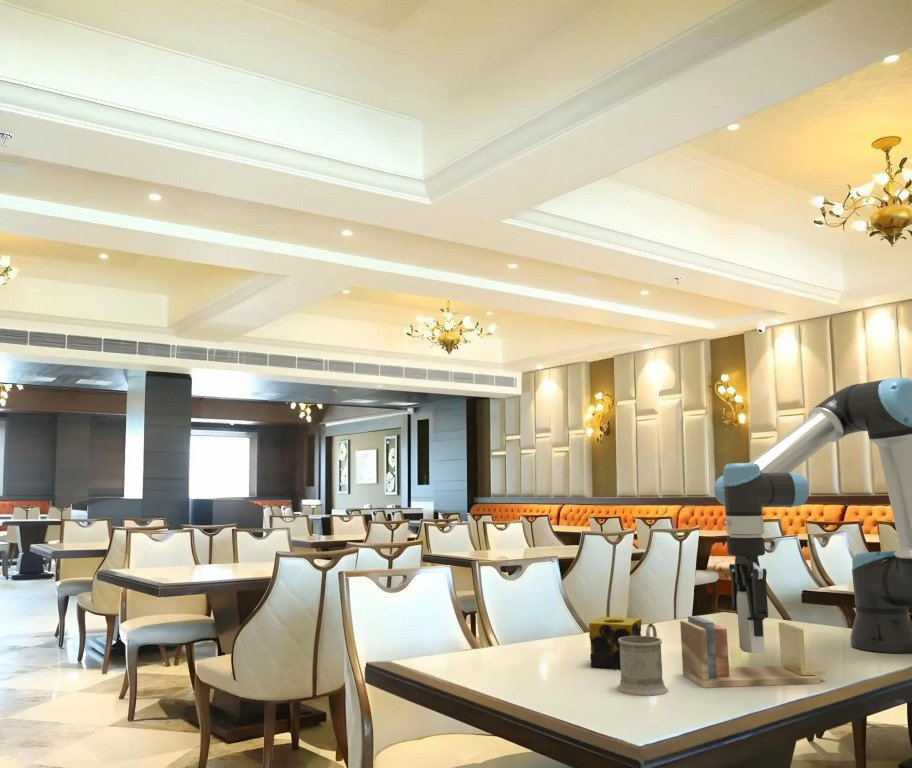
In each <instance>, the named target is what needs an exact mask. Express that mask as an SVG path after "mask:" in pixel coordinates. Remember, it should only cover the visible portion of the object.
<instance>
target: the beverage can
mask: <svg viewBox="0 0 912 768" xmlns="http://www.w3.org/2000/svg"><path fill="white" fill-rule="evenodd" d="M737 593H738V594H737V611H738V615H737V622H738V623H737V626H739V628H738V641H739V640H740V645H739V649H740V650H741V651H742V652H744V653H751V651H750V635H749V620H748V619H747V618H748V617H750V610H749V604H748V597H747V592H741V591H737ZM751 654H752V653H751Z"/></svg>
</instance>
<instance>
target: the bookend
mask: <svg viewBox="0 0 912 768" xmlns="http://www.w3.org/2000/svg"><path fill="white" fill-rule="evenodd" d="M778 634H779V635H778V636H779V637H778V638H779V649H780V650H779V651H780V662H781V663H780V666H782V667H784V668H787V669H789V670H791V671H793V672H795V673H798V674H800V675H815V676H819V675H820V676H823V675H826V670H822V669H820V668H818V667H816V666H813V665H811V664H809V663H807V662H806V649H805V639H804V638H805V637H804V635H805V634H804V628H800V627H797V626H796V625H795V626H794V625H791V624H788V623H785V622H778Z"/></svg>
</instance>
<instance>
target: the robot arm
mask: <svg viewBox="0 0 912 768" xmlns="http://www.w3.org/2000/svg"><path fill="white" fill-rule="evenodd" d="M860 432H867V436H868V439H869V442H872V443H873V444H875V445H876V447H877V448H878V453H879V457H880V458H879V459H880V461H881V466H882V471H883V476H884V480H885V485H886V490H887V495H888V499H889V503H890V504H889V505H890V507H891V512H892V513H891V514H892V517H893V521H894V526H895V531H896V535H897V540H898V544H899V545H898V548H897V549H896V550H885V551H871V552H862V553H856V554H854V555H853V557H852V560H851V563H852V568H851V573H852V574H851V575H852V583H853V594H854V604H855V618H854V622H853V624H852V629H851V633H850V646H851V647H853V648H854V649H859V650H863V651H868V652H877V653H889V654H891V653H892V654H895V653H896V654H898V653H899V654H903V653H905V654H906V653H907V654H908V653H912V620H911V618H910V612H909V611H910V609H909V608H912V379H911V378H908V377H889V378H885V379H881V380H874V381H867V382H863V383H856V384H851V385H848V386H845V387H843V388H841V389H840V390H838V391H836V392H835V393H833V394H832V395H830V396H829V397H827V398H825V399H824V400H822V401H821V402H819V403H818V404H817V405H816V406H815V407H813V408H812V409H810V411H809V413H808V415H807V418H805V420H803V421H802V422H800V423H799V424H798V425H797V426H795V427H794V428H793V429H791V431H788V433H786V434H785V435H784V436H782V437H781V438H779V439H778V440H777V441H776V442H774V443H773V444H772V445H771V446H769V447H768V448H767V449H765V450H764V451H763V452H761V453H760V454H759V455H757V456H756V457H755V458H754V459H752V460H751V461H750V462H741V463H740V462H739V463H738V462H737V463H727V464H726V465H724V466H723V472H722V473H723V474H722V475H721V476H719V477H718V478H717V479H716V480H715V483H714V485H713V486H714V488H713V493H714V495H715V498H716V500H717V501H718V503H720V504H721V505H723V506H724V509H725V510H724V512H725V520H724V521H723V523H724V524H723V525H725V529H726V534H727V535H729V537H727V538H726V548H727V549H726V550H727V552H726V553H727V554H728V555H730V556H734V557H735V558H734V563H730V564H729V565H728V567H729V573H730V588H731V603H732V611H734V612H735V613H736V616H738V611H737V594H738V593H737V591H741V592H747V597H748V604H749V610H750V617H748V618H747V619H748V620H749V635H750V651H751V654H763V653H766V650H765V649H766V647H765V631H764V621H765V619H768V618H769V608H768V607H769V606H768V605H769V604H768V595H767V594H768V592H767V574H768V573H767V571H768V570H767V569H766V568H761V567H760V565H761V564H760V561H759V557H760V556H761V557H762V556H764V555H765V554H766V549H765V547H766V546H765V544H766V542H765V539H764V537H762V535H764V534H765V526H764V514H763V510H764V509H763V508H795V507H800V506H801V507H802V505H804V504H805V503H806V502H807V501H808V498H809V496H810V495H809V494H810V492H809V491H810V490H809V484H808V481H807V479H806V478H805V477H804V476H803V475H802V474H800V473H798V472H792V471H794V470H795V469H796V468H798V467H799V466H801V465H802V464H803V463H804V462H806V461H807V460H808V459H809V458H811V457H813V456H814V454H816V453H817V452H819V450H821V449H822V448H824V447H825V446H826V445H828V443H831V442H832V443H836V442H838V441H839V440H841V439H842V438H844V437H845V436H847V435H850V434H854V433H860ZM737 626H738V625H737ZM738 629H739V626H738ZM738 641H739V646H740V640H739V639H738Z"/></svg>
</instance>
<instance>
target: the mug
mask: <svg viewBox="0 0 912 768" xmlns="http://www.w3.org/2000/svg"><path fill="white" fill-rule="evenodd" d="M645 624H646V625H647V626H646V631H645V635H641V636H627V637H621V638H619V639H618V642H619V643H620V665H621V670H620V681H619V682H620V683H619V685H618V686H617V687H616V691H618V693H621V694H625V695H629V696H639V697H652V696H660V695H661V696H662V695H664V694H666V693H668V692H669V688H668V687H667V686H665V683H664V680H663V666H662V664H663V662H662V645H661V644H663V642H662V638H659V637H658V636H657V634H658V633H657V628H656V626H655V622H645ZM651 629H652V636H651V635H650V634H651V633H650V632H651Z"/></svg>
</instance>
